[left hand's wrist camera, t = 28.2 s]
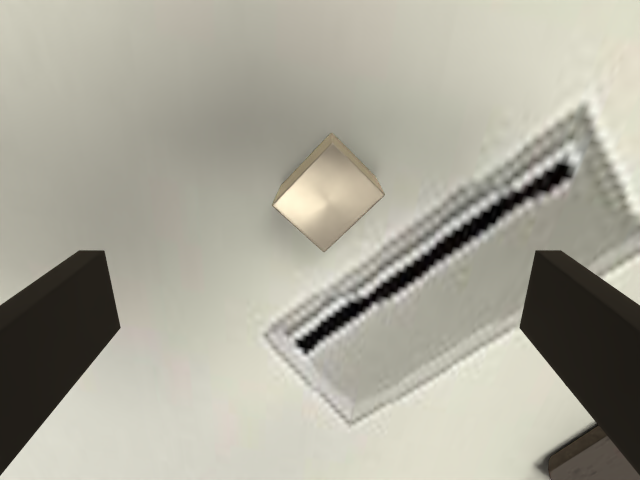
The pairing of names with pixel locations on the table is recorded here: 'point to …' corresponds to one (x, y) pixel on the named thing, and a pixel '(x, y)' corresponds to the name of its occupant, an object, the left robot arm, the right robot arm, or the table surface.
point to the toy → (591, 460)
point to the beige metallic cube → (328, 193)
